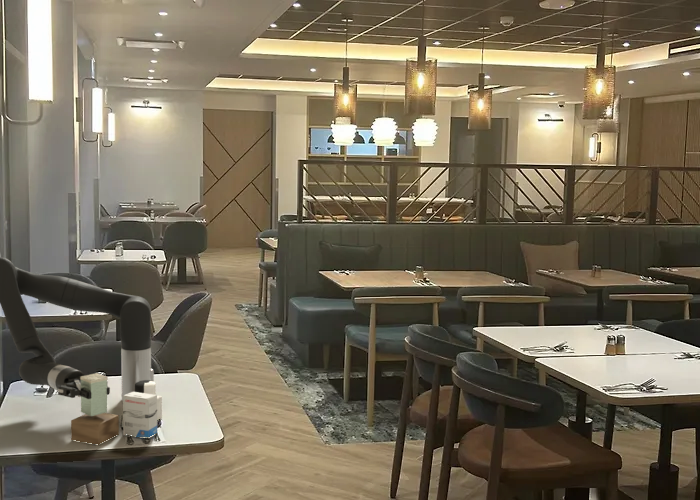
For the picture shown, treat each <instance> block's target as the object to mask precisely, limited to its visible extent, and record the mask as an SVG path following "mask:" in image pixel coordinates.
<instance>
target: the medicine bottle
mask: <svg viewBox="0 0 700 500" xmlns="http://www.w3.org/2000/svg"><path fill="white" fill-rule="evenodd" d="M156 386H157V383H156V382H155V381H154V382H153V381H150V380H142V381H139V382H137V383H135V392H139V393H146V394H153V395H157V393H156V392H157V391H156V390H157V389H156ZM158 419H160V420H162V419H163V396H162V395H157V420H158ZM158 421H159V420H158Z"/></svg>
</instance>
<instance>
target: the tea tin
mask: <svg viewBox="0 0 700 500" xmlns="http://www.w3.org/2000/svg"><path fill="white" fill-rule="evenodd" d="M80 379H81V387H82V389H83V388H84V389H87V390H89V391H91V399H87V398H84V397H80V412H81V413H83V414H87V415H89V416H94V415H98V414H102V413H108V395H107V386H108V383H107V381H108V380H109V379H108V376H105V375H103V374H100V373H97V372H95V373H91V374H85V376H81V377H80Z"/></svg>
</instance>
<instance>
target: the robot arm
mask: <svg viewBox="0 0 700 500" xmlns="http://www.w3.org/2000/svg"><path fill="white" fill-rule="evenodd" d="M22 296H27V297H31V298H34V299H36V300H40V301H41V302H44V303H45V302H46V303H48V304H52V305H55V306H56V307H57V306H58V307H61V308H65V309H69V310H73V311H76V312H77V311H78V312H86V313H87V312H89V313H103V314H107V315H111V316H113V317H117V318H119V322H120V323H119V324H120V326H119V330H120V331H119V333H120V347H121V350H120V353H121V354H120V358H121V359H120V360H121V368H120V369H121V402H123V396H124V395H126V394H128V393H131V392H135V383H137V382H139V381H142V380H150V381H153V382H155V378H154V377H155V371H154V369H153V368H152V339H151V338H152V336H151V335H152V333H151V321H152V320H151V316H152V315H151V314H152V307H151V304H150V302H149V301H148V300H147V299H146V298H144V297H142V296H140V295H139V296H138V295H133V294H132V295H131V294H125V293H121V292H115V291H111V290H107V289H106V288H102V287H99V286H96V285H93V284H90V283H86V282H84V281H81V280H78V279H74V278H69V277H65V276H61V275H60V276H59V275H50V274H49V275H48V274H37V273H35V272H30V271H27V270H24V269H21V268H19V267H17V266H15V264H14V263H13V262H12V261H11V260H9V258H6V257H1V256H0V306H1V309H2V312H3V314H4V318H5V321H6V324H7V327H8V330H9V333H10V335H11V338H12V341H13V343H14V345H15V348H16V350H17V351H18V353H20V354H26V353H31V354H33V355H34V356H35V357H32V358H29V359H26V360H24V361H22V362H21V364H20V365H19V368H18V374H19V376H20V378H21V379H22V380H23V382H25V383H27V384H30V385H36V386H37V385H38V386H47V387H50V388H52V389H53V390H54V391H57V392H58V393H57V394H58V395H59V396H63V397H67V398H71V399H73V398H76V397H77V398H81V397H84V398H87V399H91V391H89V390H87V389H84V388H83V389H82V387H81V379H80V377H81V376H86V374H85V373H84V372H83V371H81V370H78V369H76V368H74V367H71V366H68V365H63V364H61V363H58V362H56V359H55V358H54V356H53V355H52V354H51V352H49V350H48V348H47V347H46V345H44V343H43V342H42V340H41V339H40V337H39V334H38V331H37V329H36V326H35V323H34V322H33V319H32V317H31V315H30V313H29V311H28V309H27V307H26V304H25V302H24V300H23V298H22ZM108 383H109V381H108V380H107V384H108ZM110 393H111V388H110V386H108V385H107V396H108V395H110Z"/></svg>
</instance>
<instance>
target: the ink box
mask: <svg viewBox="0 0 700 500" xmlns="http://www.w3.org/2000/svg"><path fill="white" fill-rule="evenodd" d="M157 396H158V395H157V394H156V395H153V394H146V393H139V392H131V393H128V394H126V395H124V396H123V401H122V428H123V429H122V431H123V433H122V434H123V436H124V435H126V434H128V435H132V436H136V437H150V436H152V435H154V434H156V433H157V434H158V421H157ZM136 437H135V438H136Z"/></svg>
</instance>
